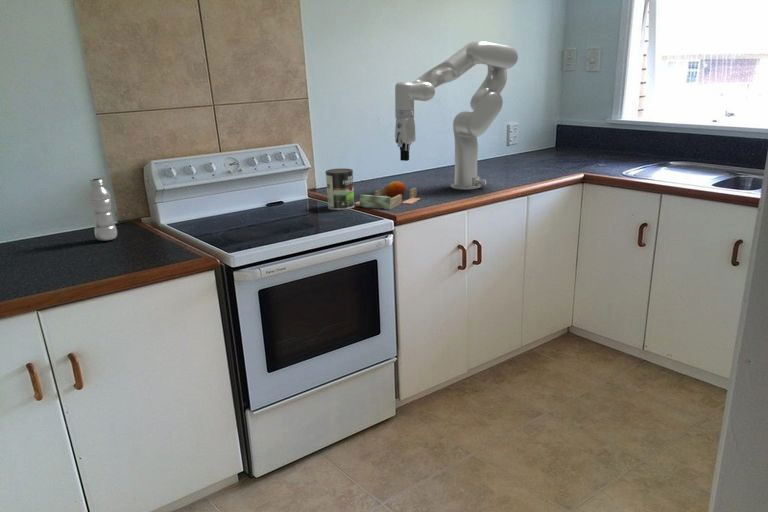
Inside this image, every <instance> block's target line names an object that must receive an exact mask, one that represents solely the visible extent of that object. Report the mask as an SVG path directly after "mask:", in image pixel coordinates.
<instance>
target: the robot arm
mask: <svg viewBox="0 0 768 512" xmlns="http://www.w3.org/2000/svg"><path fill="white" fill-rule="evenodd" d="M518 58H519V55H518V51H517V50H516V49H515V48H514V47H513V46H510V45H506V44H500V43H495V42H489V41H485V40H478V41H471V42H469V43H467V44H465V45H464V46H463V47H461V48H460V49H459V50H457V51H456V52H455V53H453V54H452V55H451V56H449V57H448V58H446V59H445V60H444V61H442V62H441V63H439V64H438V65H436V66H434V67H433V68H431V69H429V70H428V71H426V72H424V73H423V74H421V76H419V77H417V79H415V80H414V81H412V82H407V81H405V82H403V81H402V82H397V83H395V87H394V91H395V93H394V95H395V96H394V97H395V98H394V100H395V101H394V102H395V103H394V104H395V105H394V107H395V109H394V110H395V115H394V117H395V127H394V128H395V129H394V133H395V135H394V139H395V143H396V144H397V147H398V148H399V151H400V154H399V155H400V157H399V158H400V159H399V160H400V161H403V162H404V161H405V162H406V161H407V162H408V161H410V148H411V145H412V143H414V142H415V141H416V122H415V101H420V102H427V101H431V100H432V99H433V98H434V96H435V94H436V88H437V87H439V86H442V85H444V84H447V83H450V82H453V81H455V80H457V79H459V78H460V77H461V76H462V75H464V74H465V73H467V72H468V71H469V70H471V69H472V68H473V67H474V66H476V65H481V64H482V65H486V67H487V74H486V76H485V78H484V80H483V82H482V83H481V84H480V85H479V88H478V89H477V90H476V91H475V92H474V94H473V95H472V97H471V99H470V102H469V103H470V108H471V110H473V111H467V110H466V111H461V112H459V113H457V114H456V115H455V117H454V119H453V123H452V127H453V129H452V130H453V135H454V136H453V137H454V182H452V183H451V184H450V187H451V188H452V189H454V190H455V189H456V190H461V191H462V190H464V191H465V190H467V191H468V190H469V191H470V190H475V189H476V190H477V189H479V188H481V187H482V186H481V185H485V186H486V185H487V180H486V179H485V178H483V179H481V178H480V176H479V175H478V151H479V150H478V149H479V148H478V147H479V145H478V137H480V136H482V135H484V134H485V133H486V132H487V130H488V129H489V128H490V127H491V125H492V123H493V122H494V120H495V119H496V118H497V117H498V115H499V114H500V112H501V110H502V108H503V103H504V101H503V97H502V95H501V93H502V92H503V90H504V89H505V86H506V84H507V80H508V70H507V69H511V68H513V67H514V66H515V65H516V64H517V62H518V60H519V59H518Z"/></svg>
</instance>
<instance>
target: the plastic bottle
mask: <svg viewBox="0 0 768 512" xmlns="http://www.w3.org/2000/svg"><path fill="white" fill-rule="evenodd" d="M89 185H90V187H91V188H90V190H89V192H88V196H87V198H88V201H89V204H90V207H91V210H92V213H93V221H94V235H95V236H94V237H95V238H96V239H97V240H98V241H105V242H106V241H111V240H114V239H116V238H117V236H118V229H117V226H116V225H115V221H114V218H113V217H114V216H113V212H112V195H111V192H110V191H109V190H108V189H107V188H106V187H105V186H104V185H105V182H104V179H103V178H101V177H100V178H99V177H98V178H92V179H89Z"/></svg>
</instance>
